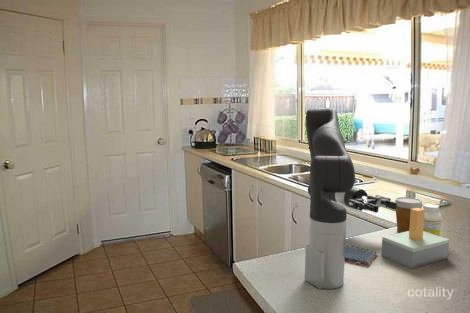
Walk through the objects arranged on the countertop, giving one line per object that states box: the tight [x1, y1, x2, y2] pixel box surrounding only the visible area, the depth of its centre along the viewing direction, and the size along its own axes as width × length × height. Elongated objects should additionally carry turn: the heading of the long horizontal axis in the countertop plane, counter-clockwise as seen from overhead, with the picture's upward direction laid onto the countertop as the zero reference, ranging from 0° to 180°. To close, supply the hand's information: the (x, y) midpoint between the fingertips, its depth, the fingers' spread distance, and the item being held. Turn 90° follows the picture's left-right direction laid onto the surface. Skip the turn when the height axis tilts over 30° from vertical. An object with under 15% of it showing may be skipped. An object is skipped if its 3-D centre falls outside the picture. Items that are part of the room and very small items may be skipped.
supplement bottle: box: [422, 203, 443, 237], centre depth 130 cm, size 7×7×13 cm
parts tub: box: [380, 239, 450, 270], centre depth 119 cm, size 16×11×5 cm
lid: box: [381, 208, 450, 252], centre depth 118 cm, size 16×11×11 cm
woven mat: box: [344, 244, 379, 268], centre depth 119 cm, size 10×11×2 cm
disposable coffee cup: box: [393, 196, 424, 233], centre depth 141 cm, size 10×10×12 cm
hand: (387, 207), depth 127 cm, fingers open, 8 cm apart
